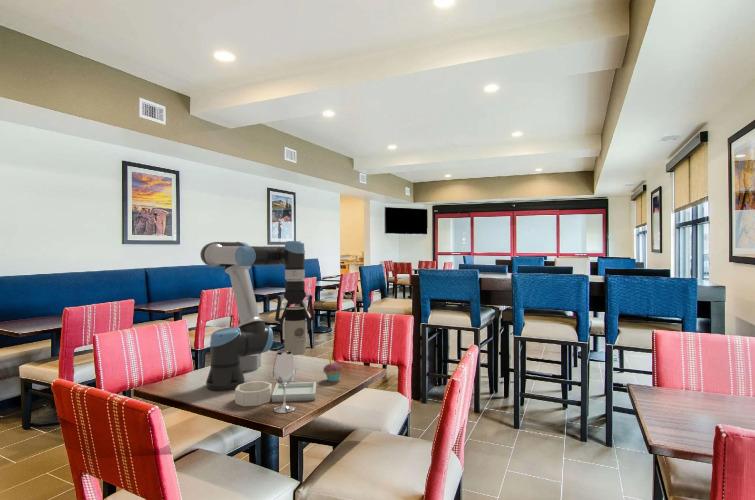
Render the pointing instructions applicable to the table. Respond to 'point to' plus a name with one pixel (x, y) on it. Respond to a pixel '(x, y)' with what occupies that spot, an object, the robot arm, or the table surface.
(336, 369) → the cupcake
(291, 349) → the travel mug
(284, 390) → the wineglass
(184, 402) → the table surface
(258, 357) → the lumpy-topped squat cylinder
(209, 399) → the table surface
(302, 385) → the tray
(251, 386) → the holder
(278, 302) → the robot arm
